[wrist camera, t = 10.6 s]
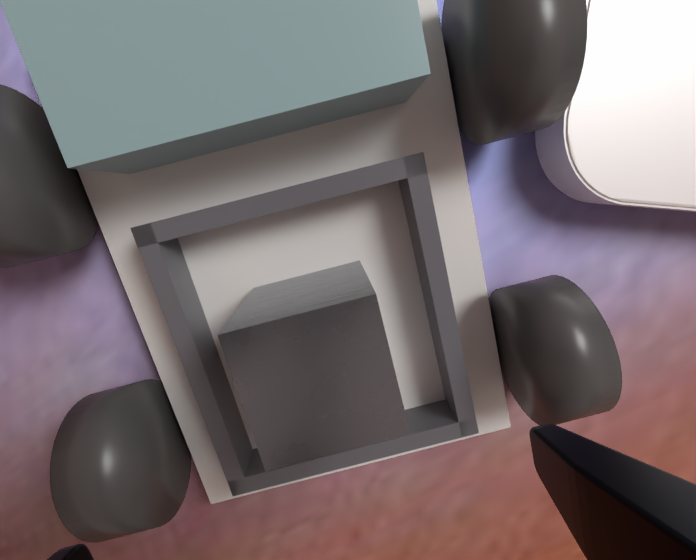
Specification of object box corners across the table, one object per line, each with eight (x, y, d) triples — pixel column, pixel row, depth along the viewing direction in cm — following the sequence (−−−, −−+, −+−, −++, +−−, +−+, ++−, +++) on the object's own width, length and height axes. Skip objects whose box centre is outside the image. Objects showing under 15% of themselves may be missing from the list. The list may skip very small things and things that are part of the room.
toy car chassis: (171, 501, 21) (112, 620, 15) (-13, 69, 16) (-209, -2, 10) (547, 404, 21) (632, 487, 15) (478, -60, 16) (566, -205, 10)
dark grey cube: (284, 384, 19) (265, 471, 13) (253, 287, 18) (217, 335, 12) (384, 358, 19) (410, 434, 13) (359, 260, 18) (376, 293, 12)
